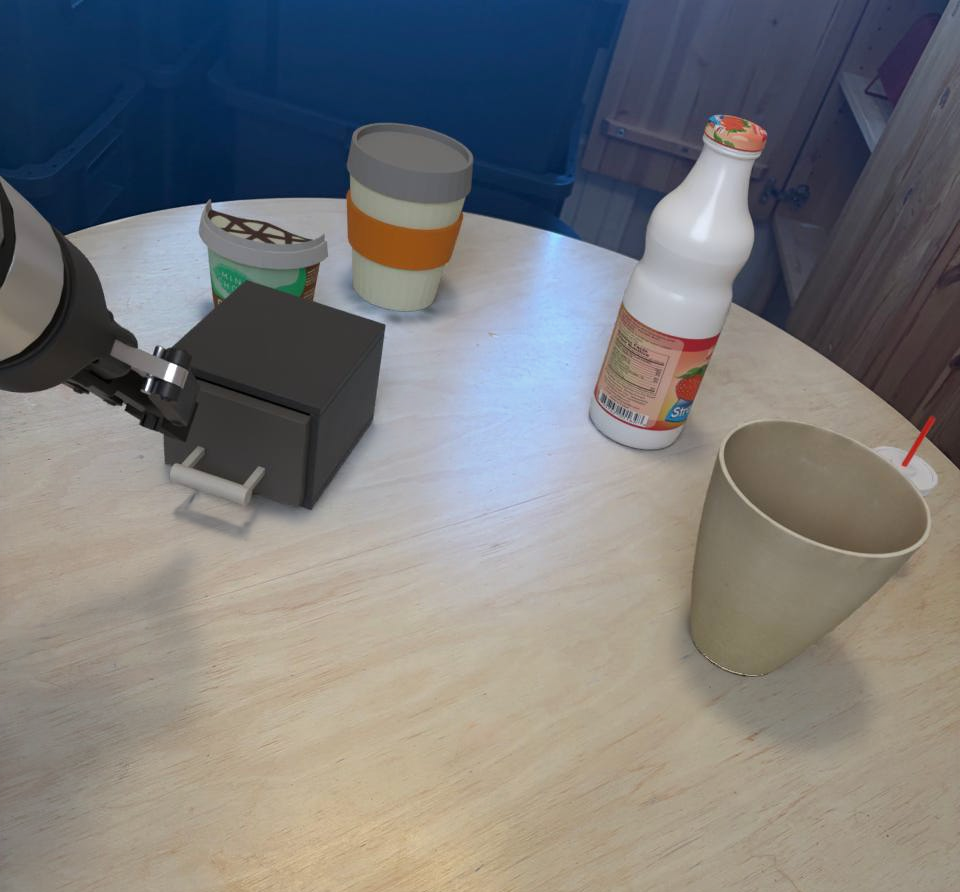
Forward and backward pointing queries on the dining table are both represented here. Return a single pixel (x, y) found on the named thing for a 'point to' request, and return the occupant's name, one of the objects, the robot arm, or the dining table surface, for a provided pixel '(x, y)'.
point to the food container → (258, 255)
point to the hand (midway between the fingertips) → (181, 419)
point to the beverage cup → (913, 462)
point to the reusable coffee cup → (404, 211)
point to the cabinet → (295, 366)
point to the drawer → (242, 447)
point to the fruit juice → (679, 293)
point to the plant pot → (795, 540)
